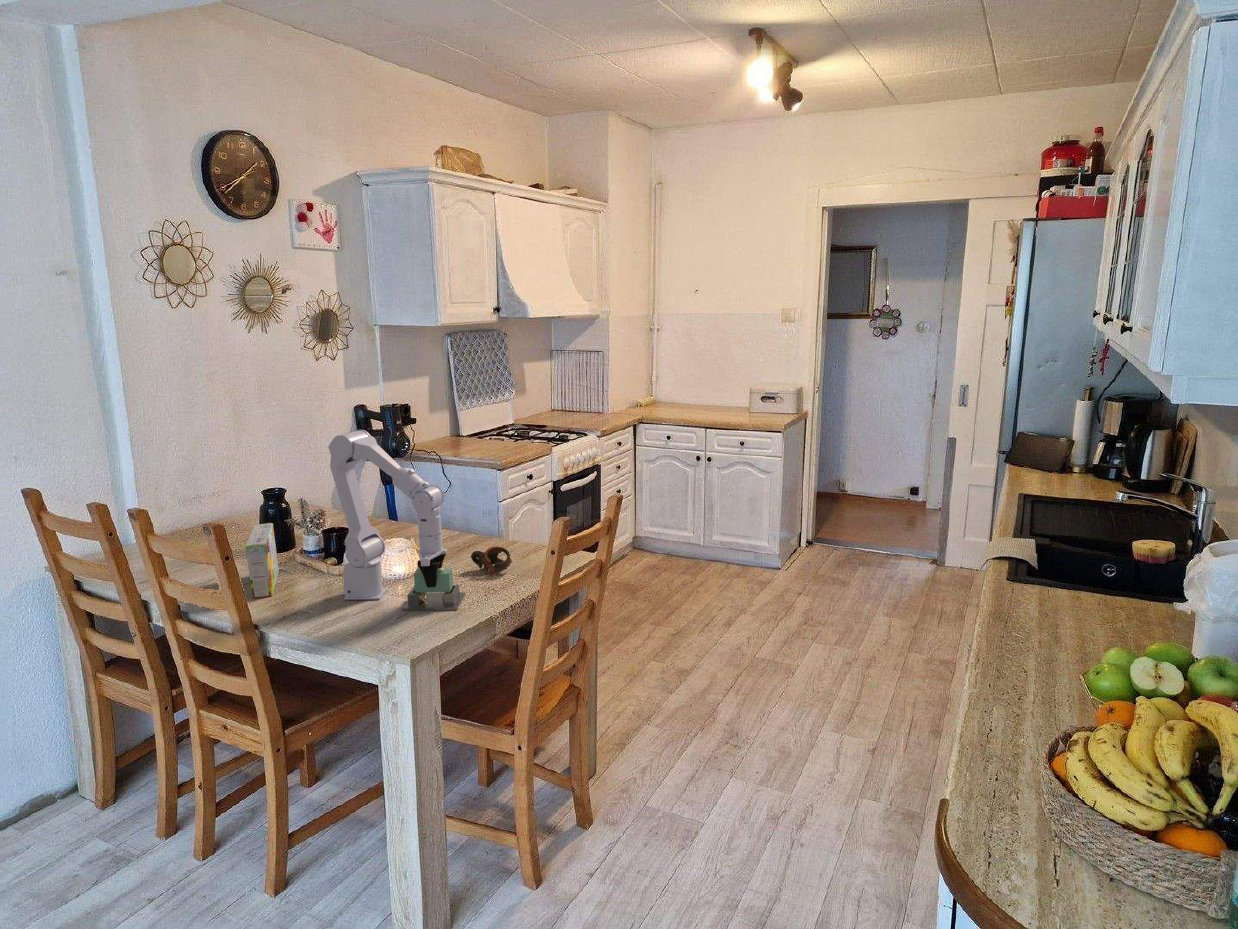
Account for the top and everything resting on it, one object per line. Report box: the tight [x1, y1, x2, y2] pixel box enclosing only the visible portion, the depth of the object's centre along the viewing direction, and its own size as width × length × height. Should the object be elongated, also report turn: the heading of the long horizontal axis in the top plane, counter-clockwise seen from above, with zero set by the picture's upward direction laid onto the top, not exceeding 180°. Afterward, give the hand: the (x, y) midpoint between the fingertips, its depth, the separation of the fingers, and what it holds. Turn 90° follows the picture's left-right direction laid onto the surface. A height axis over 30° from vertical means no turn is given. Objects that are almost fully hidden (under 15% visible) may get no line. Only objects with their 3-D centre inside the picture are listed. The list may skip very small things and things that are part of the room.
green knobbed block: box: [413, 567, 454, 593], centre depth 208 cm, size 9×4×6 cm, turn 90°
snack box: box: [245, 522, 280, 599], centre depth 223 cm, size 21×6×15 cm, turn 18°
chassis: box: [401, 584, 466, 612], centre depth 209 cm, size 14×11×4 cm
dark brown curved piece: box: [470, 545, 513, 577], centre depth 233 cm, size 12×10×8 cm
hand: (433, 583), depth 208 cm, fingers closed on green knobbed block, 4 cm apart
